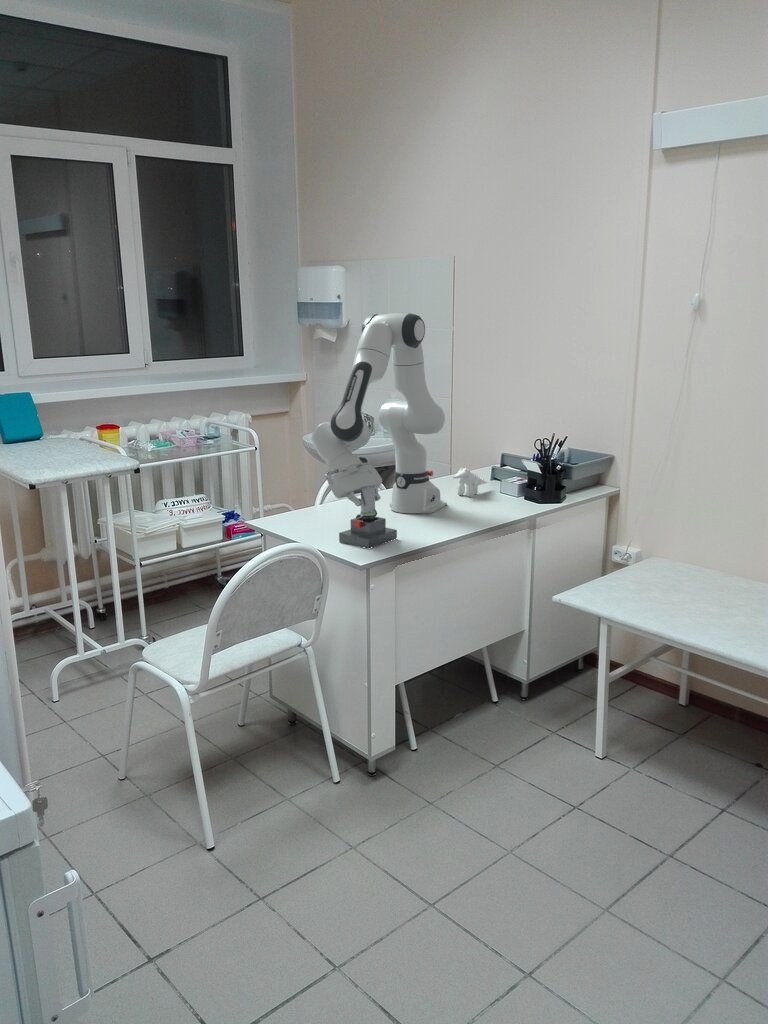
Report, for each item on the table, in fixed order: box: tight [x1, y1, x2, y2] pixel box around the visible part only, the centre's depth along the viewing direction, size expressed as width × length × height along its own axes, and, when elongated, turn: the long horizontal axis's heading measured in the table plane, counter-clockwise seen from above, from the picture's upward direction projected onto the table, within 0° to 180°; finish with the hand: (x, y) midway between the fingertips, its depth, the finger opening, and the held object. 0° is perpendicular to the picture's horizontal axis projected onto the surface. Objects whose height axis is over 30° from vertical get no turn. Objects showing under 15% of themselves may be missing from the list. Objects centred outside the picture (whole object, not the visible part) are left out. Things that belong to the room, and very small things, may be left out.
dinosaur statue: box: [452, 467, 488, 497], centre depth 319 cm, size 7×24×11 cm, turn 139°
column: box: [360, 486, 377, 522], centre depth 255 cm, size 5×5×14 cm
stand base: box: [338, 516, 398, 549], centre depth 257 cm, size 14×12×8 cm
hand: (369, 502), depth 254 cm, fingers open, 7 cm apart
